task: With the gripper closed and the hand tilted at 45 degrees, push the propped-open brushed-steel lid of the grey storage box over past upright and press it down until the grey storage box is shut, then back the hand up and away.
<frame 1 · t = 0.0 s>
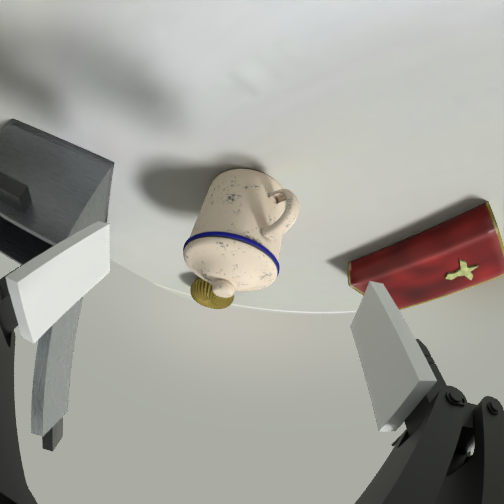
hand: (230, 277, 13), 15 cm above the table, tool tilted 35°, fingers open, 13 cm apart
hardcover book: (431, 252, 33), on the table
lid: (58, 361, 26), point 23 cm above the table, hinge at 100.0°
grey storage box: (60, 180, 34), on the table
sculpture: (215, 282, 52), on the table
teacup with lid: (257, 189, 30), on the table
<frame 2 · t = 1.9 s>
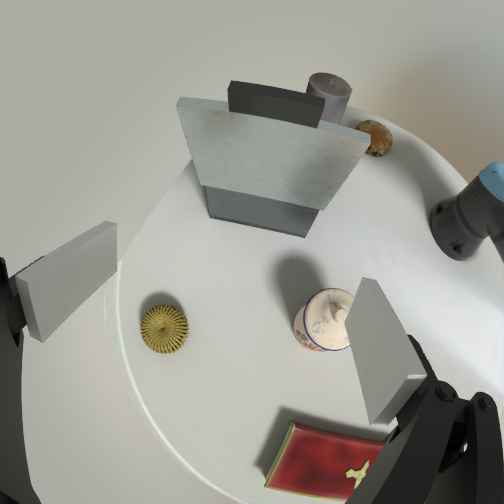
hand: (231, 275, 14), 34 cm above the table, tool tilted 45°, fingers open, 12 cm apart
hardcover book: (330, 463, 38), on the table
bread roll: (370, 144, 64), on the table
pillar candle: (317, 127, 65), on the table
lid: (268, 155, 31), point 23 cm above the table, hinge at 100.0°
grey storage box: (266, 188, 56), on the table
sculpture: (167, 330, 45), on the table
teacup with lid: (324, 330, 46), on the table
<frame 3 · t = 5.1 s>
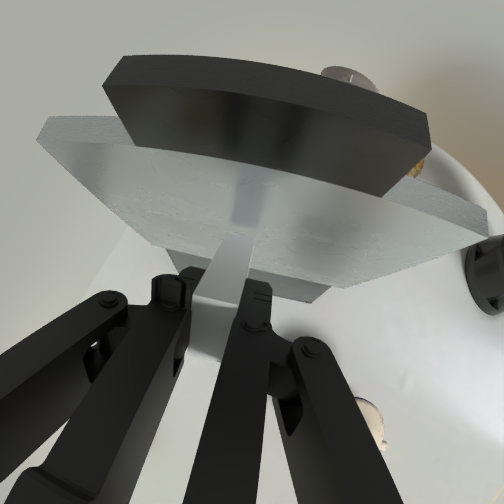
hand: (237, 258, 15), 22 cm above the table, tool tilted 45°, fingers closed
bread roll: (395, 163, 49), on the table
pillar candle: (328, 138, 49), on the table
lid: (252, 224, 16), point 23 cm above the table, hinge at 99.7°, touching gripper
grey storage box: (258, 229, 41), on the table
teacup with lid: (330, 426, 31), on the table
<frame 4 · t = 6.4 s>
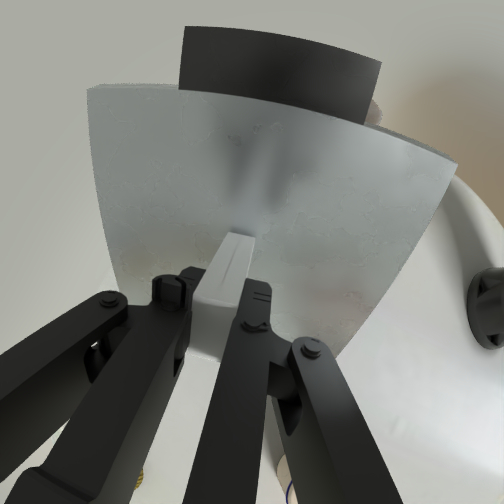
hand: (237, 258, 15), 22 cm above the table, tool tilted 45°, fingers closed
lid: (246, 233, 16), point 22 cm above the table, hinge at 64.1°, touching gripper
teacup with lid: (317, 469, 29), on the table
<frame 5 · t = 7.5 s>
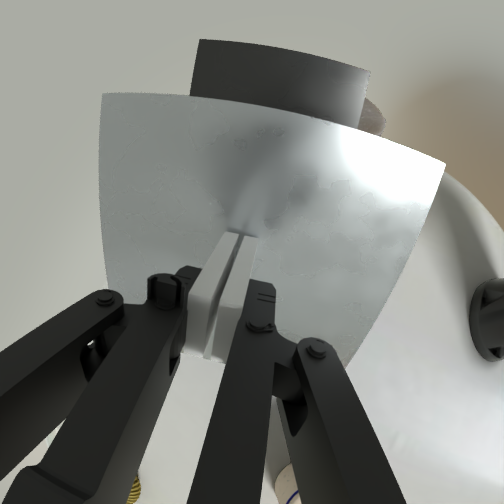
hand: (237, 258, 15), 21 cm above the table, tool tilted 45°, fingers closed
pillar candle: (326, 171, 45), on the table
lid: (246, 243, 16), point 21 cm above the table, hinge at 53.3°, touching gripper
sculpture: (117, 476, 26), on the table
teacup with lid: (315, 484, 27), on the table
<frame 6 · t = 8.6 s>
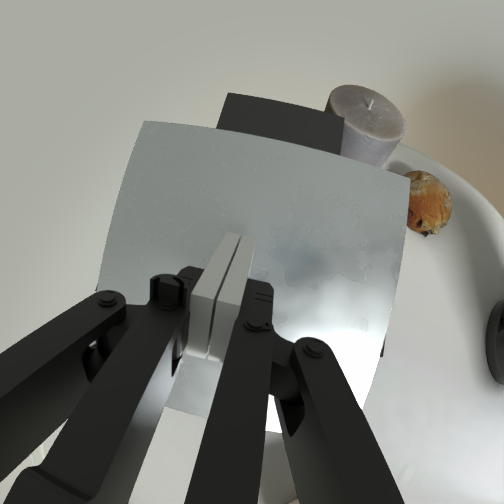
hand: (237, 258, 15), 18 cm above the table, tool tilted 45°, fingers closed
bread roll: (417, 210, 39), on the table
pillar candle: (336, 177, 40), on the table
lid: (251, 259, 17), point 16 cm above the table, hinge at 18.5°, touching gripper
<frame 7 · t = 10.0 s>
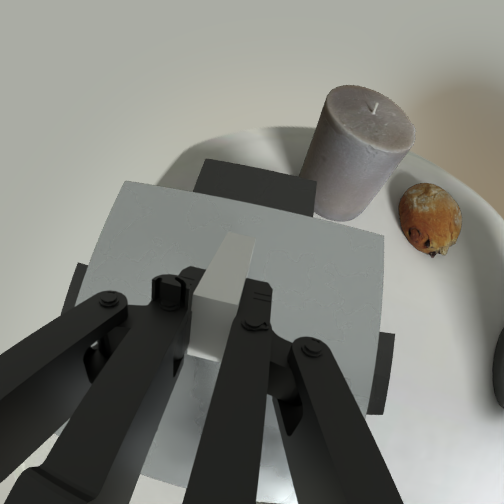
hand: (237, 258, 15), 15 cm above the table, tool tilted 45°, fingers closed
bread roll: (423, 226, 35), on the table
pillar candle: (333, 191, 36), on the table
lid: (224, 321, 16), point 13 cm above the table, hinge at 0.0°, touching gripper
grey storage box: (224, 354, 27), on the table
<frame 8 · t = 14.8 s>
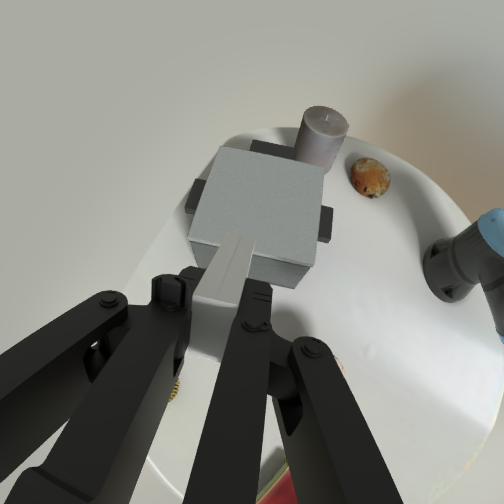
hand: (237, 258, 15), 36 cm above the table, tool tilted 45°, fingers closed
hardcover book: (310, 500, 37), on the table
bread roll: (367, 183, 64), on the table
pillar candle: (311, 162, 65), on the table
lid: (264, 192, 45), point 13 cm above the table, hinge at 0.0°
grey storage box: (255, 235, 56), on the table
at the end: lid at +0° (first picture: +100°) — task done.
